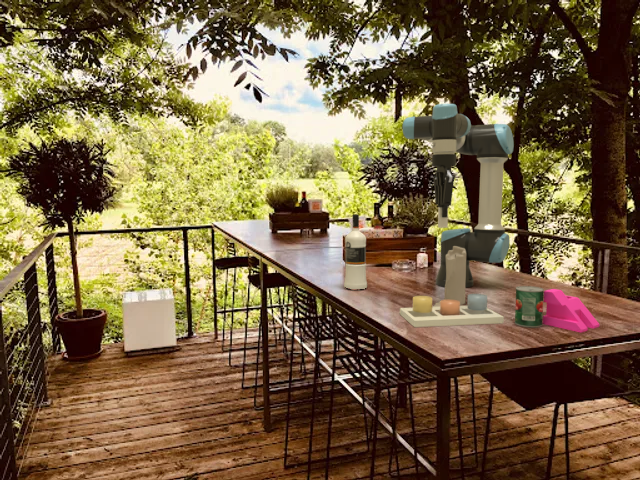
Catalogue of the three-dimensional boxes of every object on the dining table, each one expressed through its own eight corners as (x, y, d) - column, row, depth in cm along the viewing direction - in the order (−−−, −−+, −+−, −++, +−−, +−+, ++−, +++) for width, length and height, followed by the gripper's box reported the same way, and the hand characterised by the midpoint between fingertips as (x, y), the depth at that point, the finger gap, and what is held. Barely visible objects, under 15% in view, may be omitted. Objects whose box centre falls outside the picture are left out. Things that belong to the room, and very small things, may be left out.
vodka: (371, 289, 218) (371, 214, 214) (351, 291, 213) (351, 215, 210) (359, 285, 226) (359, 213, 222) (340, 287, 222) (339, 214, 218)
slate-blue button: (464, 306, 175) (464, 294, 175) (482, 305, 176) (482, 293, 176) (472, 310, 170) (472, 298, 169) (490, 309, 170) (490, 297, 170)
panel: (399, 314, 178) (399, 308, 178) (481, 310, 182) (481, 304, 182) (414, 327, 162) (414, 320, 162) (503, 323, 166) (503, 316, 166)
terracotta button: (437, 312, 174) (437, 299, 174) (455, 311, 175) (455, 299, 175) (444, 316, 169) (444, 304, 168) (462, 315, 169) (462, 303, 169)
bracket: (542, 324, 165) (543, 290, 164) (561, 318, 171) (562, 286, 170) (581, 333, 156) (582, 297, 154) (599, 327, 162) (601, 293, 160)
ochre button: (410, 308, 173) (410, 296, 173) (428, 307, 174) (428, 295, 173) (416, 313, 167) (416, 300, 167) (434, 312, 168) (435, 299, 168)
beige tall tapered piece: (428, 305, 190) (429, 248, 188) (452, 299, 199) (453, 245, 197) (445, 309, 185) (446, 250, 182) (469, 302, 193) (470, 246, 191)
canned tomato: (510, 321, 169) (511, 286, 167) (535, 320, 169) (536, 285, 168) (521, 328, 161) (522, 291, 160) (547, 327, 161) (548, 290, 160)
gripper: (426, 154, 180) (425, 225, 183) (439, 153, 167) (438, 229, 170) (447, 154, 181) (446, 225, 184) (463, 152, 168) (461, 229, 171)
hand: (442, 227), depth 177 cm, fingers closed
